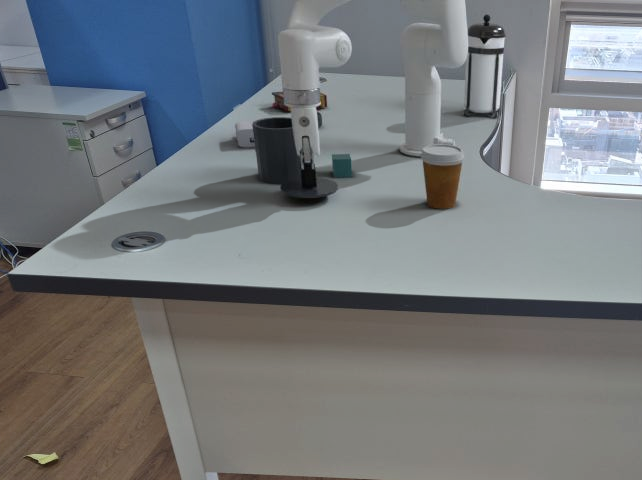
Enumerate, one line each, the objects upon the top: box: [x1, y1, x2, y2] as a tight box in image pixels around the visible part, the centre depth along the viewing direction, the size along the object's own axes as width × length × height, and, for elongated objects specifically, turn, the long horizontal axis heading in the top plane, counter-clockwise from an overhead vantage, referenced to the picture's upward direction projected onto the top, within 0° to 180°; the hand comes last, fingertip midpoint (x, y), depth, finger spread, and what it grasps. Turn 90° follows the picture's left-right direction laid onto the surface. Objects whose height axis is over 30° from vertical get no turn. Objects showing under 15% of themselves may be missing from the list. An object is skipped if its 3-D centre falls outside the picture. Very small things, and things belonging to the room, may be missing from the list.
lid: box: [279, 167, 339, 199], centre depth 144 cm, size 13×13×6 cm
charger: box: [234, 120, 255, 148], centre depth 183 cm, size 5×9×15 cm
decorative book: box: [270, 91, 328, 112], centre depth 219 cm, size 11×16×5 cm
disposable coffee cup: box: [420, 144, 466, 210], centre depth 142 cm, size 10×10×12 cm
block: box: [331, 153, 353, 178], centre depth 160 cm, size 4×4×4 cm
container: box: [252, 116, 301, 185], centre depth 155 cm, size 12×12×12 cm
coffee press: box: [463, 14, 507, 119], centre depth 214 cm, size 17×16×30 cm
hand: (309, 183), depth 144 cm, fingers closed on lid, 2 cm apart
